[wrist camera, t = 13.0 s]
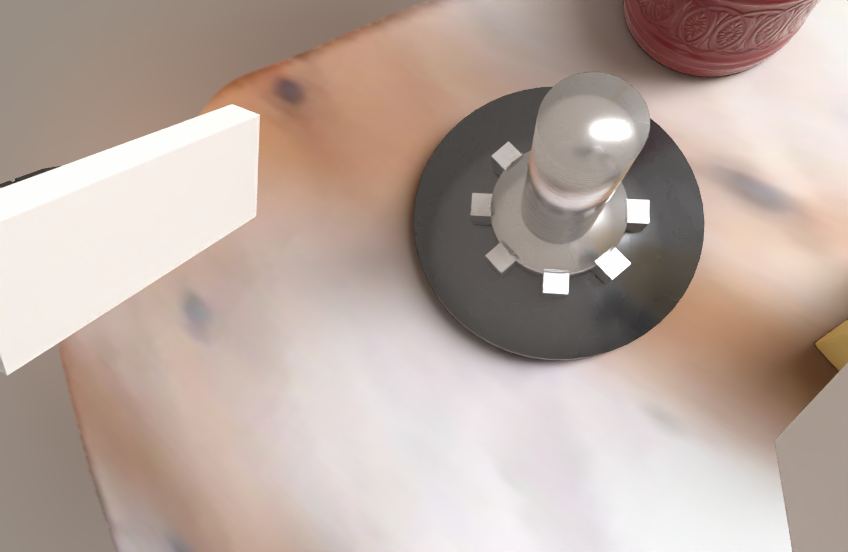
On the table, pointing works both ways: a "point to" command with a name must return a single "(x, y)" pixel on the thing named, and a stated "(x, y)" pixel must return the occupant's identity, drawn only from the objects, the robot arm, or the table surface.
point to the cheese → (835, 345)
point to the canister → (714, 31)
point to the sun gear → (569, 186)
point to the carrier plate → (520, 292)
